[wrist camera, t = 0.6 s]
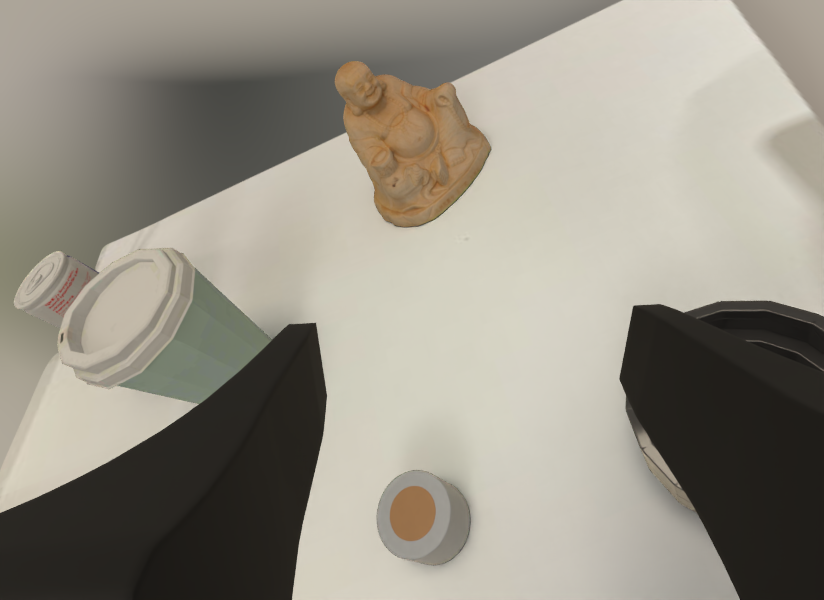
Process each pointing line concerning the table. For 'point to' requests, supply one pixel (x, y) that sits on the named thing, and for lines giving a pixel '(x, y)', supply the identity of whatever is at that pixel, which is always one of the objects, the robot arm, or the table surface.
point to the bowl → (756, 323)
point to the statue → (410, 143)
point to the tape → (423, 518)
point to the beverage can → (53, 287)
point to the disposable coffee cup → (157, 329)
